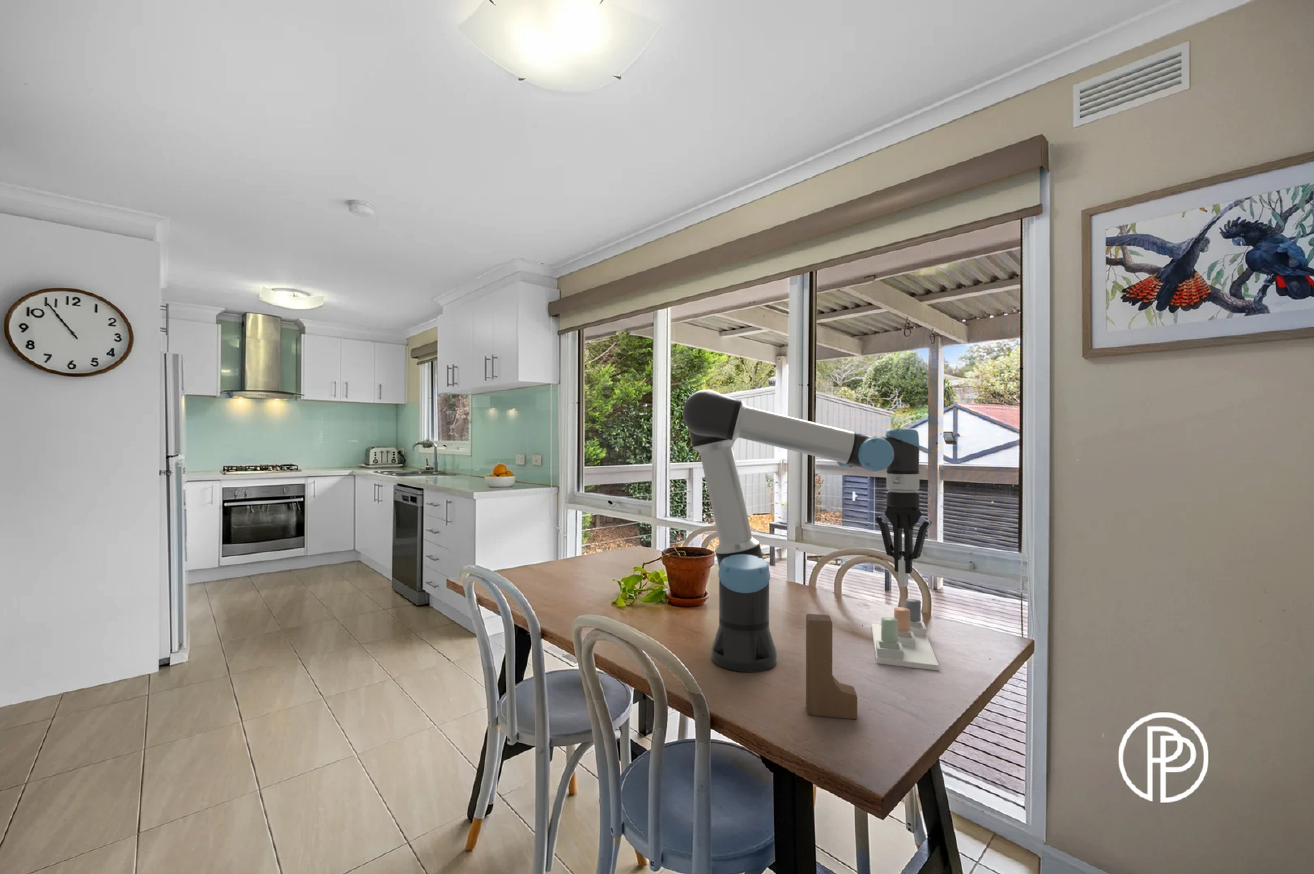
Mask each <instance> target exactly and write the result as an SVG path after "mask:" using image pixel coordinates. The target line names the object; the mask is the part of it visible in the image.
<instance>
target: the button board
mask: <svg viewBox="0 0 1314 874" xmlns="http://www.w3.org/2000/svg"><path fill="white" fill-rule="evenodd" d="M871 631H872V632H871V633H872V634H871V635H872V640H873V641H872V642H873V647H874V655H875V662H876V664H881V665H888V666H889V665H891V666H896V667H897V666H898V667H904V668H906V667H907V668H915V669H924V670H930V671H931V670H932V671H939V669H940V667H939V666H940V664H939V663H938V660H937V658H936V656H935V655H936V654H935V653H934V650H933V647H932V645H931V643H930V639H928V635H927V627H926V625H925V622H924V621H920V622H911V621H910V631H909V632H900V631H898V642H897V643H886V642H883V641H882V640H881V624H878V623H871Z"/></svg>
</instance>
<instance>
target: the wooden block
mask: <svg viewBox="0 0 1314 874" xmlns="http://www.w3.org/2000/svg"><path fill="white" fill-rule="evenodd" d="M805 705H806V707H805V708H806V713H807V715H808V716H814V717H815V716H816V717H827V718H838V719H848V720H849V719H850V720H857V718H858V695H857V692H856V690H855V687H854V686H853V685H850V684H845V683H842V682H840V681H839V680H837V678H835V677H834V675H833V621H832V618H831V616H830V615H829V614H817V613H807V614H806V615H805Z"/></svg>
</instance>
